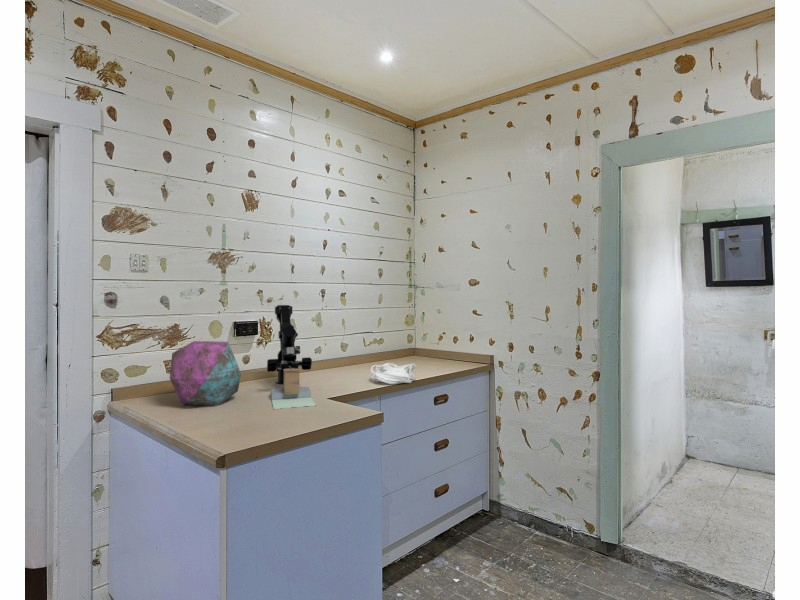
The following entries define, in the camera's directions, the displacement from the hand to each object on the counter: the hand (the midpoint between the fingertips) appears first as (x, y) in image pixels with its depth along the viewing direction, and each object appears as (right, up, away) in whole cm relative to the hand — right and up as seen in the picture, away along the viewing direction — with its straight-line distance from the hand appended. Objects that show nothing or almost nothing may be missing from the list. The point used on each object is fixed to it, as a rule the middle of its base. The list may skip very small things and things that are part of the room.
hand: (290, 380), depth 203 cm
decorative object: (-33, -8, -8) cm, 34 cm away
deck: (0, -7, +2) cm, 7 cm away
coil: (+43, -7, +36) cm, 56 cm away
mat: (+3, -8, -10) cm, 13 cm away
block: (+1, -4, -2) cm, 5 cm away
